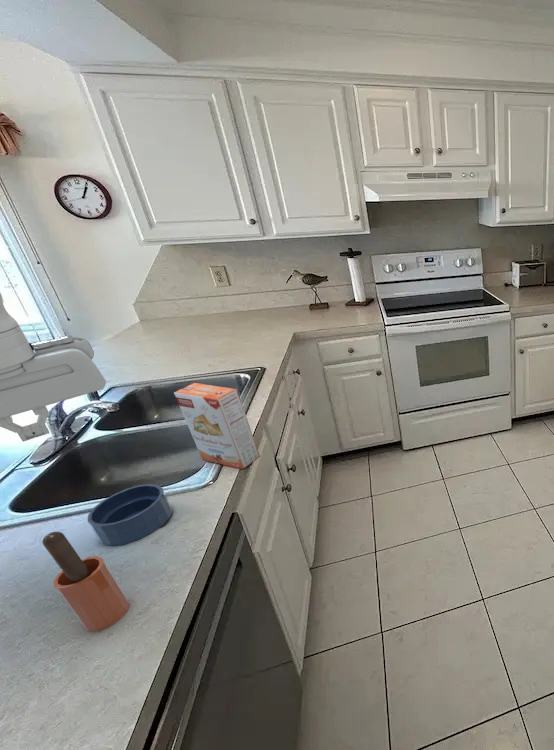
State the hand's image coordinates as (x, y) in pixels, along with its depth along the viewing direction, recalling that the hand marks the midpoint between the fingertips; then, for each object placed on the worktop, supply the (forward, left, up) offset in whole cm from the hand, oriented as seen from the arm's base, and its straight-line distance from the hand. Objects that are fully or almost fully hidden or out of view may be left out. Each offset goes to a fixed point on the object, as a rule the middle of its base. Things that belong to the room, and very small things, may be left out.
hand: (36, 436), depth 63 cm
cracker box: (+11, +34, -32) cm, 48 cm away
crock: (+1, -9, -31) cm, 33 cm away
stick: (+1, -9, -31) cm, 32 cm away
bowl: (-3, +15, -31) cm, 35 cm away
